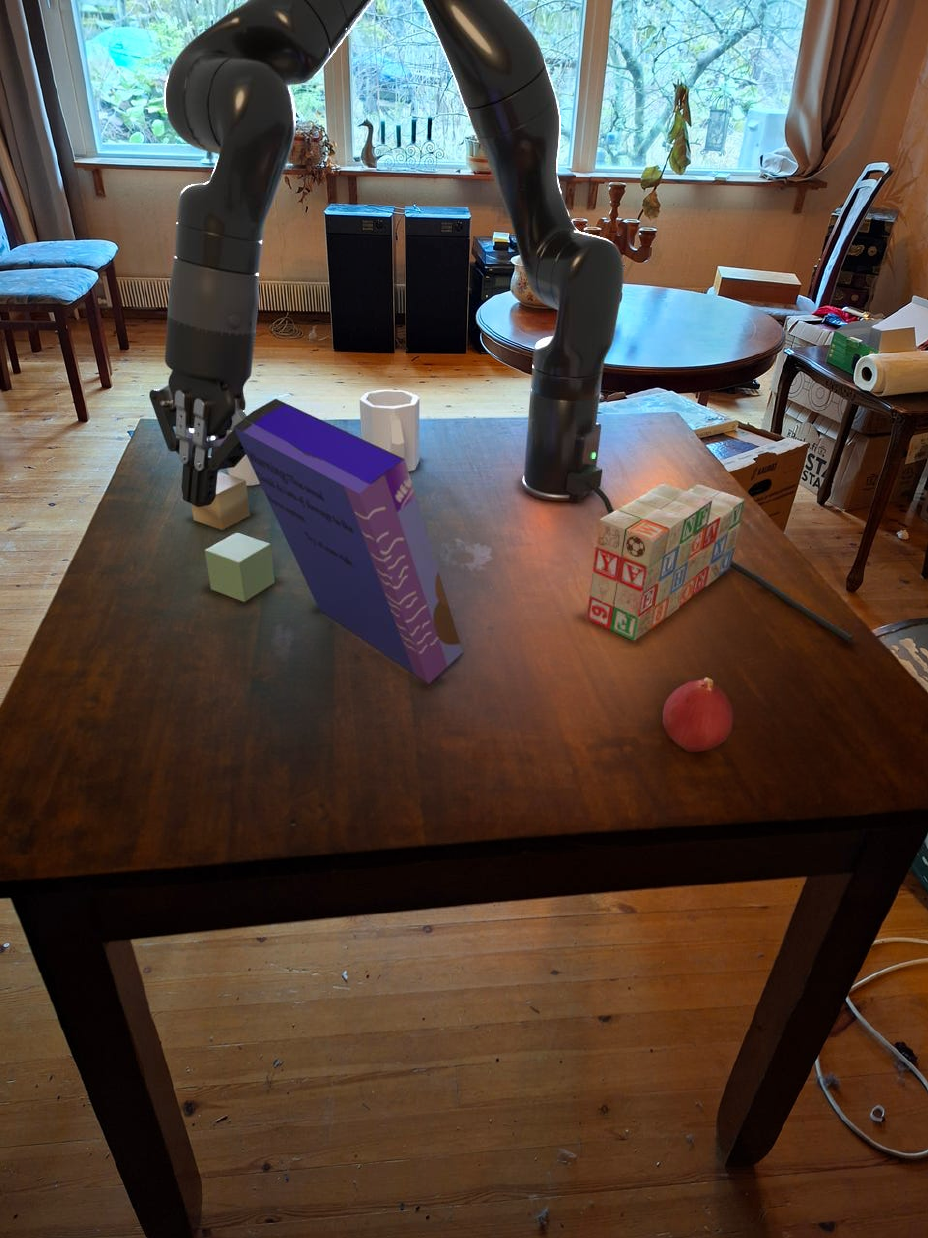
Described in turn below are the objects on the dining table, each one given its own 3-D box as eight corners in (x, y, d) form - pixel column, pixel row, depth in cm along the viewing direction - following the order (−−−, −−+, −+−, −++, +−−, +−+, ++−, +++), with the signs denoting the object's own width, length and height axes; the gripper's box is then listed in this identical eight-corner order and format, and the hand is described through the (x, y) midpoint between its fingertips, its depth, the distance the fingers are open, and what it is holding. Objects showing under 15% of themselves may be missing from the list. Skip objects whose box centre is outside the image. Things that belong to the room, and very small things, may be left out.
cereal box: (463, 653, 81) (403, 456, 64) (429, 685, 80) (358, 491, 62) (352, 583, 91) (274, 396, 74) (319, 610, 90) (232, 424, 72)
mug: (358, 454, 126) (355, 390, 120) (414, 450, 128) (414, 387, 122) (370, 487, 116) (367, 419, 111) (430, 483, 118) (430, 416, 113)
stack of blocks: (684, 551, 103) (703, 458, 97) (730, 569, 100) (753, 474, 93) (585, 619, 90) (599, 517, 83) (634, 642, 87) (653, 538, 80)
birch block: (250, 515, 108) (245, 479, 105) (222, 530, 104) (217, 493, 102) (221, 505, 110) (216, 470, 107) (193, 520, 106) (187, 484, 104)
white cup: (280, 469, 120) (275, 422, 117) (266, 489, 115) (261, 440, 111) (234, 466, 121) (228, 419, 117) (218, 485, 115) (211, 437, 111)
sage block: (275, 582, 94) (270, 543, 92) (244, 602, 91) (239, 562, 88) (241, 570, 96) (236, 532, 94) (210, 589, 93) (204, 550, 90)
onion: (648, 728, 75) (663, 657, 71) (710, 726, 76) (728, 655, 71) (667, 773, 71) (683, 700, 66) (733, 771, 71) (753, 698, 67)
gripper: (298, 339, 74) (274, 520, 81) (193, 302, 79) (181, 475, 87) (234, 338, 68) (216, 534, 75) (126, 298, 73) (119, 485, 81)
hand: (197, 502), depth 81 cm, fingers closed
